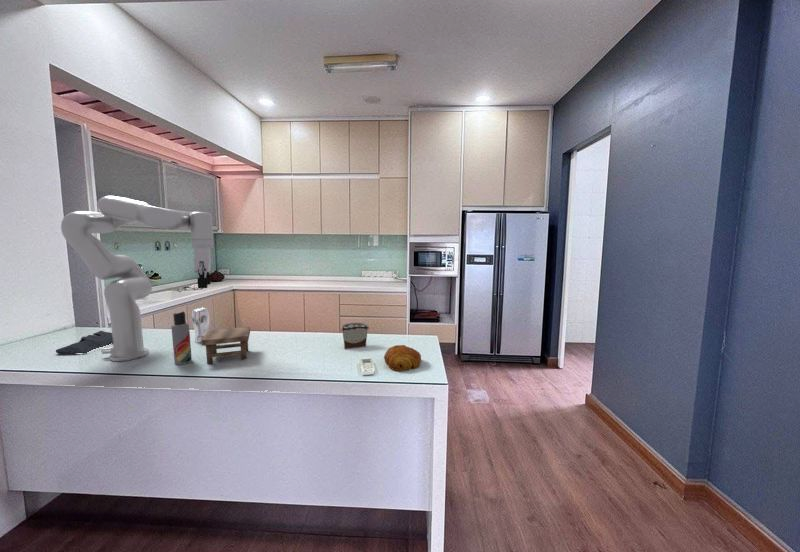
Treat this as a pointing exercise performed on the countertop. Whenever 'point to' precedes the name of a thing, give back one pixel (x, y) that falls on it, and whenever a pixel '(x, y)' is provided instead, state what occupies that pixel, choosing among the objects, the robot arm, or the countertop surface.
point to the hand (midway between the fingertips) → (204, 286)
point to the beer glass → (200, 323)
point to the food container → (354, 335)
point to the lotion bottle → (181, 339)
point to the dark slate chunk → (88, 343)
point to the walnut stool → (226, 337)
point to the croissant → (402, 358)
